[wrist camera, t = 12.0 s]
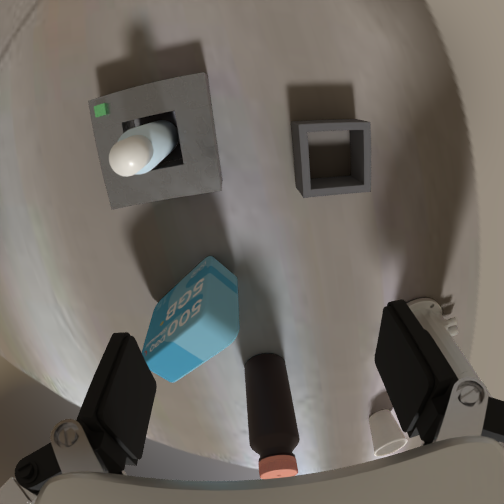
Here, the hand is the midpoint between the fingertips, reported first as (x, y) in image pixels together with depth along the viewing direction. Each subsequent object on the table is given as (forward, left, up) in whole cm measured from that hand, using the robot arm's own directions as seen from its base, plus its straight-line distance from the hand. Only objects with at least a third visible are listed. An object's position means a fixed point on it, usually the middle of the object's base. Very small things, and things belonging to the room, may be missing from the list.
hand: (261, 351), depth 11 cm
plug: (+8, -6, -26) cm, 28 cm away
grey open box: (-10, -2, -26) cm, 28 cm away
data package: (+8, +14, -26) cm, 31 cm away
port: (+8, -6, -26) cm, 28 cm away
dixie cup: (-26, +59, -26) cm, 70 cm away
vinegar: (0, +31, -26) cm, 41 cm away
